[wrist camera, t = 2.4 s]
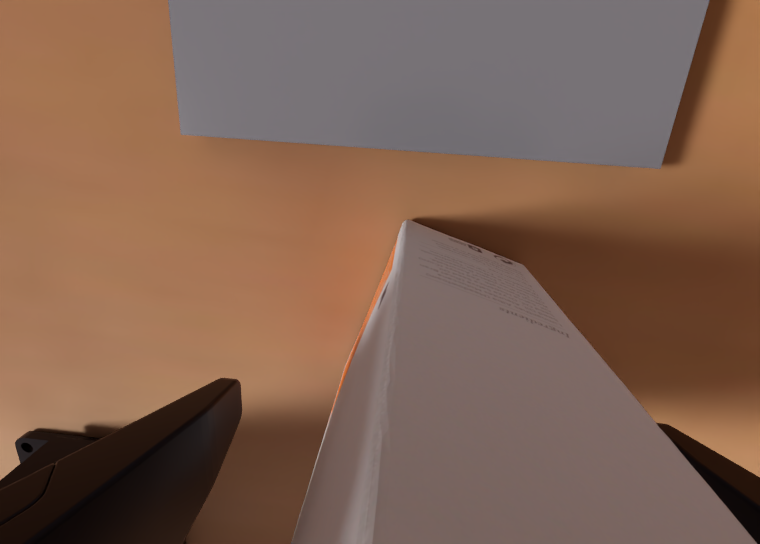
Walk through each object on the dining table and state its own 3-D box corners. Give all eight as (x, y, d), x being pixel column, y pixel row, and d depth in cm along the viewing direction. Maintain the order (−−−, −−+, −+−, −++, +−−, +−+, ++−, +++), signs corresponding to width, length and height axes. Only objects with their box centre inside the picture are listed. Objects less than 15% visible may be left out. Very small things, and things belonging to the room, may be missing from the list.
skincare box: (402, 213, 12) (296, 991, 1) (524, 262, 13) (1523, 1348, 1) (340, 366, 14) (78, 1202, 3) (447, 406, 15) (572, 1331, 3)
